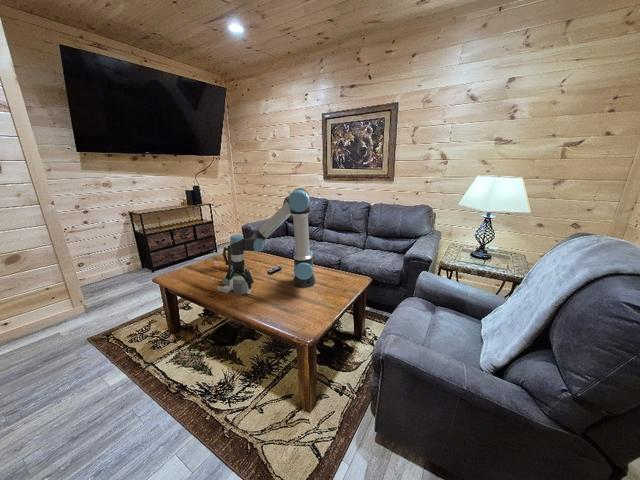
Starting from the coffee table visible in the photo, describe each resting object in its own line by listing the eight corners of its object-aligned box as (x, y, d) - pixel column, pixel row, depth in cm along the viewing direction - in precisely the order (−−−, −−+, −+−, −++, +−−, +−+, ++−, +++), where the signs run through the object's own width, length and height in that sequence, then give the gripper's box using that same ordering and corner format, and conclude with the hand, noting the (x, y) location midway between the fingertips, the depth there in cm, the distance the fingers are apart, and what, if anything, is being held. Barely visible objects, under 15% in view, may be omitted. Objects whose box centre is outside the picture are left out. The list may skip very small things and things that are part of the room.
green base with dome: (253, 280, 184) (252, 268, 181) (232, 294, 165) (230, 281, 162) (234, 277, 190) (233, 265, 187) (212, 289, 171) (210, 276, 168)
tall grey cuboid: (247, 290, 170) (246, 280, 168) (240, 295, 164) (239, 285, 162) (241, 289, 172) (240, 279, 170) (233, 293, 165) (232, 283, 164)
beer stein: (246, 267, 207) (242, 243, 201) (241, 273, 196) (237, 247, 191) (227, 268, 208) (223, 244, 203) (221, 273, 198) (217, 248, 193)
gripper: (258, 260, 160) (260, 292, 166) (226, 255, 169) (228, 285, 175) (250, 265, 154) (252, 297, 160) (217, 258, 163) (220, 289, 169)
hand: (240, 291), depth 167 cm, fingers open, 13 cm apart
